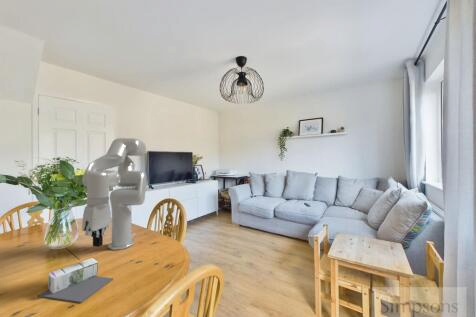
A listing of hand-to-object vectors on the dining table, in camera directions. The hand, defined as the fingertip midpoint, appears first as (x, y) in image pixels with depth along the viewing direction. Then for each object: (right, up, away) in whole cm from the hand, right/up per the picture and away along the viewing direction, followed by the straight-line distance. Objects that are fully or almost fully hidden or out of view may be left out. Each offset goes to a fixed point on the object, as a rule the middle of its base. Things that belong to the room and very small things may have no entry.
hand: (97, 245), depth 87 cm
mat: (-2, -12, -9) cm, 15 cm away
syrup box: (-1, -9, 0) cm, 9 cm away
